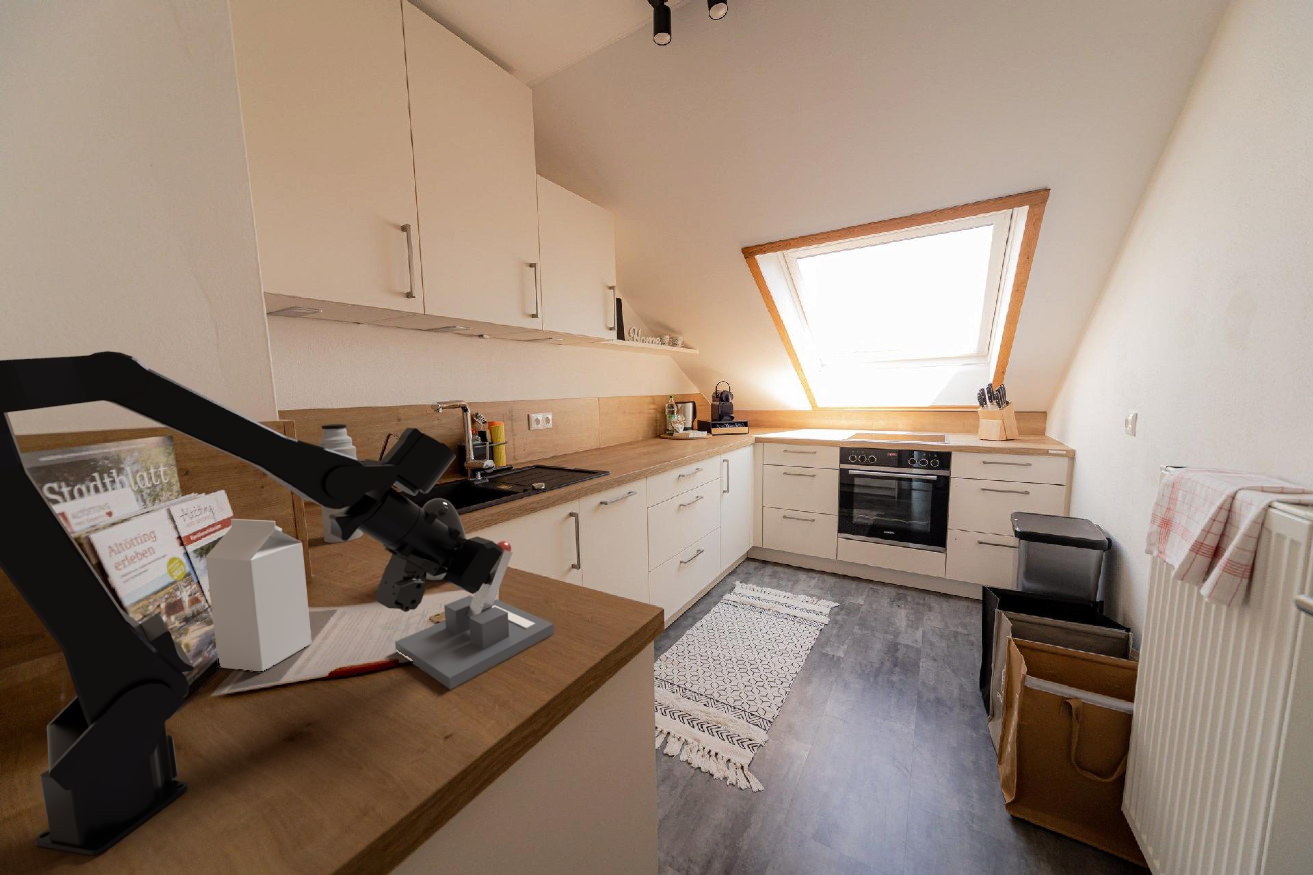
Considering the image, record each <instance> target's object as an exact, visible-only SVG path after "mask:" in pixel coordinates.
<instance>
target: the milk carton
mask: <svg viewBox="0 0 1313 875" xmlns="http://www.w3.org/2000/svg"><path fill="white" fill-rule="evenodd" d="M230 525H231V527H230V528H229V529H228V530H227V532H226V533H225V534H224V535H223V536H222V538H221V539H220V540H219V541H218V542H217V543H216V544H215V546H214V547H213V548H211V550H210V551H209V553H208V554H206V556H205V563H206V571H207V581H208V589H209V599H210V605H211V612H212V613H211V614H212V615H211V616H212V623H213V630H214V632H213V633H214V641H215V648H216V655H217V654H218V658H219V663H220V666H221V667H220V668H224V669H229V670H230V669H231V670H232V669H233V670H238V669H244V670H243V671H246V670H250V671H249V672H253V671H263V672H265V671H267V670H268V669H270V668H272V667H274V666H276V665H277V664H279V663H280V662H282V661H284V660H287V658H289V657H291V656H292V655H294V654H296V653H298V652H300V651H301V650H303V649H305V648H306V647H308V646H310V645H312V642H313V641H312V632H311V623H310V622H311V621H310V612H309V602H308V601H309V600H308V592H307V580H306V568H305V561H304V560H305V558H304V549H303V542H302V541H301V540H298V539H296V538H295V537H293V536H290V535H288V534H286V533H285V532H283V528H281V527H279V526H278V525H276V521H275V520H263V519H261V520H260V519H244V518H243V519H241V518H240V519H239V518H231V519H230ZM304 647H305V648H304ZM218 658H217V659H218ZM273 665H274V666H273ZM245 669H246V670H245ZM266 669H267V670H266ZM251 670H253V671H251ZM264 670H265V671H264Z"/></svg>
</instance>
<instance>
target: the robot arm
mask: <svg viewBox="0 0 1313 875" xmlns="http://www.w3.org/2000/svg"><path fill="white" fill-rule="evenodd" d="M95 402H106V403H111V404H113V405H115V406H118V407H120V408H123V409H125V410H126V411H129V412H132V413H134V414H136V415H138V416H141V417H143V418H144V419H147V420H150V421H152V422H154V423H156V424H159V425H161V426H163V427H166V428H168V429H170V430H172V431H175V432H178V433H179V434H181V435H184V436H187V437H188V438H190V439H193V440H195V441H198V442H200V443H202V444H204V445H207V446H210V447H212V448H214V449H216V450H219V451H221V452H223V453H225V454H228V455H230V456H232V457H235V458H237V459H239V460H241V461H243V462H246V463H247V464H250V465H253V467H255V468H257V469H258V470H260V471H261V472H263V473H265V475H266V476H269V477H270V478H271V479H272V480H274V481H275V482H277V483H278V484H280V485H281V486H283V487H285V488H286V489H288V490H289V491H291V492H292V493H294V494H295V495H297V496H299V498H302V499H303V500H306V501H308V502H311V503H314V504H317V505H319V506H324V507H327V508H331V509H342V508H345V507H346V508H345V509H344V510H343V511H342V512H340V513H337V514H330V515H329V519H330V521H331V532H330V534H331V535H332V536H334V537H336V538H339V539H341V540H343V541H344V542H348V541H347V540H348V539H349V538H350V537H351V536H352V535H353V533H354V532H355V531H356V530H357V529H359V530H360V531H362V532H363V534H366V535H367V536H369V537H370V538H371V539H374V540H376V541H377V542H379V543H381V544H382V546H384V550H385V551H386V552H388V553H389V554H391V556H390V558H389V561H388V563H387V565H386V566H385V568H384V570H383V573H382V576H381V579H380V581H379V583H378V584H379V585H378V587H377V590H376V593H375V600H376V602H377V603H378V604H380V605H381V606H384V607H385V608H387V609H392V610H394V609H395V610H401V611H403V612H404V613H407V612H410V610H412V611H413V610H416V609H417V608H418V606H419V605H420V604H421V603H422V600H423V597H424V594H425V592H426V588H427V584H426V580H427V579H426V576H427V574H430V575H432V576H438V575H441V574H444V573H446V575H445V576H444V577H443V579H442V580H441V581H444V582H445V583H448V584H450V585H454V587H457V588H458V589H460V590H462V591H465V592H467V593H470V594H472V595H474V594H475V593H476V592H477V591H479V589H480V587H481V586H482V584H483V583H484V584H488V582H489V581H490V578H491V576H490V572H491V570H492V569H493V567H494V565H495V564H496V562H497V561H498V559H499V558H500V556H501V554H502V548H501V547H500V546H498V545H497V543H496V542H494V541H493V540H490V539H488V538H484V537H480V536H478V535H477V536H473V537H471V538H467V539H464V538H462V537H461V536H459V535H460V533H461V532H460V531H458V530H457V529H455V528H452V527H449V526H448V527H447V526H446V525H445V524H443V523H442V522H440V521H439V520H437V519H436V518H437V517H438V516H437V515H436V514H434V513H433V512H430V511H427V510H423V509H422V508H423V507H420V506H419V505H418V504H416V503H415V502H413V501H412V500H410V499H409V498H408V497H406V496H405V495H403V494H402V493H400V492H399V491H398V490H397V489H395V488H394V487H392V486H395V487H396V488H398V489H399V490H400V491H402V492H404V493H406V494H408V495H411V496H414V497H415V496H417V494H418V493H419V492H420V493H422V494H428V493H430V491H431V490H432V488H434V486H435V485H436V484H437V482H438V481H439V480H440V478H441V477H442V476H443V474H444V473H445V472H446V471H447V469H448V468H449V467H450V465H451V464H452V463H453V462H454V460H455V459H456V457H457V455H456V454H455V452H454V451H453V449H451V448H450V447H449V446H448V445H447V444H445V443H444V442H440V441H439V440H437V439H435V438H433V437H432V436H430V435H428V434H426V433H423V432H422V431H421V430H420V429H418V428H416V427H406V428H405V429H404V431H403V432H402V433H401V434H400V436H399V438H398V440H397V441H396V442H395V444H394V445H393V446H392V447H391V448H390V449H389V450H388V452H387V453H386V454H385V455H384V456H383V457H382V459H381V460H380V461H379V460H376V459H369V458H365V459H363V460H361V459H359V458H355V457H352V456H349V455H346V454H342V453H339V452H336V451H333V450H330V449H327V448H323V447H320V446H319V445H316V444H313V443H310V442H307V441H302V440H299V439H296V438H293V437H290V436H286V435H284V434H283V433H280V432H278V431H276V430H274V429H272V428H270V427H268V426H266V425H264V424H262V423H261V422H258V421H256V420H253V419H252V418H249V417H248V416H246V415H243V414H242V413H239V412H238V411H236V410H234V409H232V408H229V407H227V406H226V405H223V404H221V403H220V402H218V401H215V400H214V399H212V398H210V397H208V396H206V395H203V394H201V393H199V392H197V391H195V390H194V389H192V388H189V387H187V386H185V385H183V384H181V383H179V382H177V381H175V380H173V379H172V378H169V377H167V376H165V375H163V374H161V373H159V372H158V371H155V370H153V369H151V368H149V367H148V366H146V365H145V364H144V363H142V362H141V361H140V360H139V359H137V358H136V357H134V356H133V355H130V354H126V353H123V352H121V351H120V352H119V351H111V350H110V351H109V350H106V351H99V352H94V353H93V352H92V353H91V354H88V355H75V356H74V355H71V356H56V357H55V356H53V357H36V358H35V357H32V358H18V359H17V358H15V359H14V358H13V359H1V360H0V568H1V571H3V573H4V574H5V575H6V577H7V578H8V580H10V582H11V583H12V585H13V586H14V587H15V589H16V590H17V592H18V593H19V595H21V597H22V598H23V600H25V602H26V603H27V605H28V606H29V608H31V610H32V611H33V613H34V614H35V616H36V617H37V618H38V619H39V621H40V622H41V624H43V626H44V627H45V629H46V630H47V632H49V634H50V635H51V636H52V638H53V640H54V641H55V642H56V643H57V645H58V646H59V648H61V650H62V654H63V657H64V659H65V662H66V665H67V669H68V672H69V674H70V675H69V676H70V678H71V680H72V681H71V682H72V685H73V687H74V691H75V694H76V696H74V698H72V699H71V700H70V702H69V703H68V704H66V706H65V707H63V708H62V710H61V711H59V713H57V715H55V716H54V718H52V720H51V721H50V722H48V724H47V725H46V733H47V734H46V735H47V736H46V737H47V755H48V759H47V761H48V770H46V771H44V772H42V773H41V774H40V776H39V777H40V783H41V790H42V795H43V801H44V808H45V813H46V820H47V826H48V828H47V829H46V830H45V831H43V832H42V833H39V835H37V836H35V838H34V844H35V846H38V847H42V848H43V847H44V848H50V849H53V850H54V849H55V850H59V851H60V850H61V851H66V852H72V853H77V854H82V855H88V856H97V855H100V854H101V853H103V852H105V851H107V850H108V849H109V848H110V847H112V846H113V845H115V843H118V841H120V840H121V839H122V838H124V837H125V836H127V835H128V834H130V833H131V832H132V831H134V830H135V829H137V827H139V826H140V825H142V824H143V823H144V822H145V821H147V820H148V819H150V818H151V817H152V816H154V815H155V814H156V813H157V812H159V811H160V810H162V809H163V808H165V807H166V806H167V805H169V804H170V803H172V802H173V801H174V800H176V799H177V798H178V797H179V796H180V795H182V794H183V793H185V792H186V791H187V790H188V789H189V783H188V781H183V780H176V778H177V777H178V774H179V771H178V764H177V758H176V757H177V756H176V750H175V749H176V748H175V741H174V735H171V734H168V731H167V726H166V722H167V720H169V719H171V718H172V717H173V715H175V714H176V712H177V711H178V710H179V709H180V708H181V707H182V705H183V704H184V702H185V699H186V698H187V696H188V694H189V691H190V684H189V681H188V679H187V676H186V674H185V673H186V672H192V671H193V670H195V669H194V668H195V666H194V665H193V664H192V662H191V660H190V659H189V657H188V655H187V653H186V652H185V651H184V649H183V647H182V645H181V643H179V642H177V641H176V640H174V638H173V635H172V634H171V631H170V629H169V627H168V626H167V625H166V622H165V621H164V619H163V617H162V616H161V614H160V613H155V614H154V615H152V616H151V617H149V618H147V619H145V620H144V621H142V622H141V623H140V622H139V621H137V620H136V619H135V618H133V617H132V616H130V615H129V614H128V613H127V612H125V611H124V610H123V609H122V608H121V607H120V606H119V603H118V602H117V601H116V599H115V598H114V597H113V595H112V593H111V592H110V590H109V589H108V587H107V586H106V584H105V583H104V582H103V581H102V579H101V577H100V576H99V574H98V573H97V571H96V569H94V566H93V565H92V564H91V563H90V561H89V559H88V558H87V556H86V555H85V554H84V552H83V551H82V550H81V548H80V546H79V545H78V543H77V542H76V540H75V539H74V537H73V536H72V535H71V533H70V531H69V530H68V528H67V527H66V526H65V523H63V521H62V519H61V518H60V517H59V515H58V513H57V512H56V511H55V509H54V508H53V506H52V505H51V503H50V502H49V500H48V498H47V497H46V495H45V494H44V493H43V492H42V490H41V488H40V487H39V486H38V484H37V482H36V481H35V479H34V478H33V477H32V475H31V474H30V472H29V470H28V469H27V468H26V465H25V464H26V463H25V461H24V459H23V455H22V453H21V450H20V446H19V444H18V441H17V437H16V434H15V430H14V428H13V425H12V422H11V420H10V417H9V414H8V413H14V412H22V411H31V410H37V409H38V410H40V409H46V408H48V409H49V408H55V407H61V406H70V405H76V404H77V405H78V404H85V403H95ZM426 573H427V574H426ZM174 779H175V780H174Z"/></svg>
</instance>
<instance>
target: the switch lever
mask: <svg viewBox="0 0 1313 875" xmlns="http://www.w3.org/2000/svg"><path fill="white" fill-rule="evenodd" d="M496 544H497V545H498V546H500V547H501V548H502V554H501V556H500V558H499V559H498V561H497V562H496V564H495V565H494V567H493V569H492V570H491V572H490V576H491V578H490V581H489V582H488V584H484V583H483V584H482V586H481V587H480V589H479V591H477V592H476V593H474V594H473V596H472V597H473V599H472V602H471V605H470V607H469V610H468V612H467V615H466V616H468V617H472V616H475V615H477V614H479V613H482V612H484V611H486V610H489V609H491V608H492V606H493V603H494V600H496V599H497V598H496V597H497V595H498V592H499V590H500V587H501V584H502V583H503V582H502V581H503V578H504V576H505V574H506V571H507V569H508V566H509V563H510V560H511V558H512V555H513V552H512V545H511V544H510V543H509V542H508V541H505V540H501V541H499V542H498V543H496Z"/></svg>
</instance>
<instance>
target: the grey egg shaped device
mask: <svg viewBox="0 0 1313 875" xmlns="http://www.w3.org/2000/svg"><path fill="white" fill-rule="evenodd" d="M421 508H422V509H423V510H427V511H430V512H433V513H434V514H436V515H437V516H438V517H437V518H436V519H437V520H439V521H440V522H442V523H443V524H445V525H446V526H447V527H448V526H449V527H452V528H455V529H457V530H458V531H460V532H461V533H460V535H459V536H461V537H462V538H464V539H467V540H468V538H467V536H466V531H465V529H464V525H463V523H462V521H461V518H460V515H459V513H458V512H457V510H456V508H455V506H454V505H453V504H452V503H451V502H450V501H449V500H447V499H445V498H442V497H438V498H437V497H436V498H433V499H430V500H428V501H427V502H426V503H424V505H423V507H421ZM426 574H427V573H426ZM445 575H446V573H444V574H441V575H438V576H432V575H430V574H427V576H426V580H429V581H443V580H442V579H443V577H444V576H445Z"/></svg>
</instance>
